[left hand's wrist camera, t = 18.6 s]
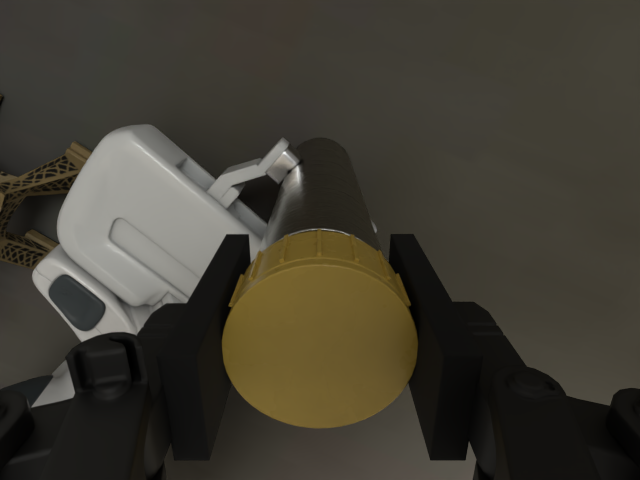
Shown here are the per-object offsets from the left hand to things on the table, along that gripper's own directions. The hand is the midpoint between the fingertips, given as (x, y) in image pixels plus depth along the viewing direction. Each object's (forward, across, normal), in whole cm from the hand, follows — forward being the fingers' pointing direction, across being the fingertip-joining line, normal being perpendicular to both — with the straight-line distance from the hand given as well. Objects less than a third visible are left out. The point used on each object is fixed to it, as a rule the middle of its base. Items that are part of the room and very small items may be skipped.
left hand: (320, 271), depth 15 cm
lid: (-4, 0, 0) cm, 4 cm away
